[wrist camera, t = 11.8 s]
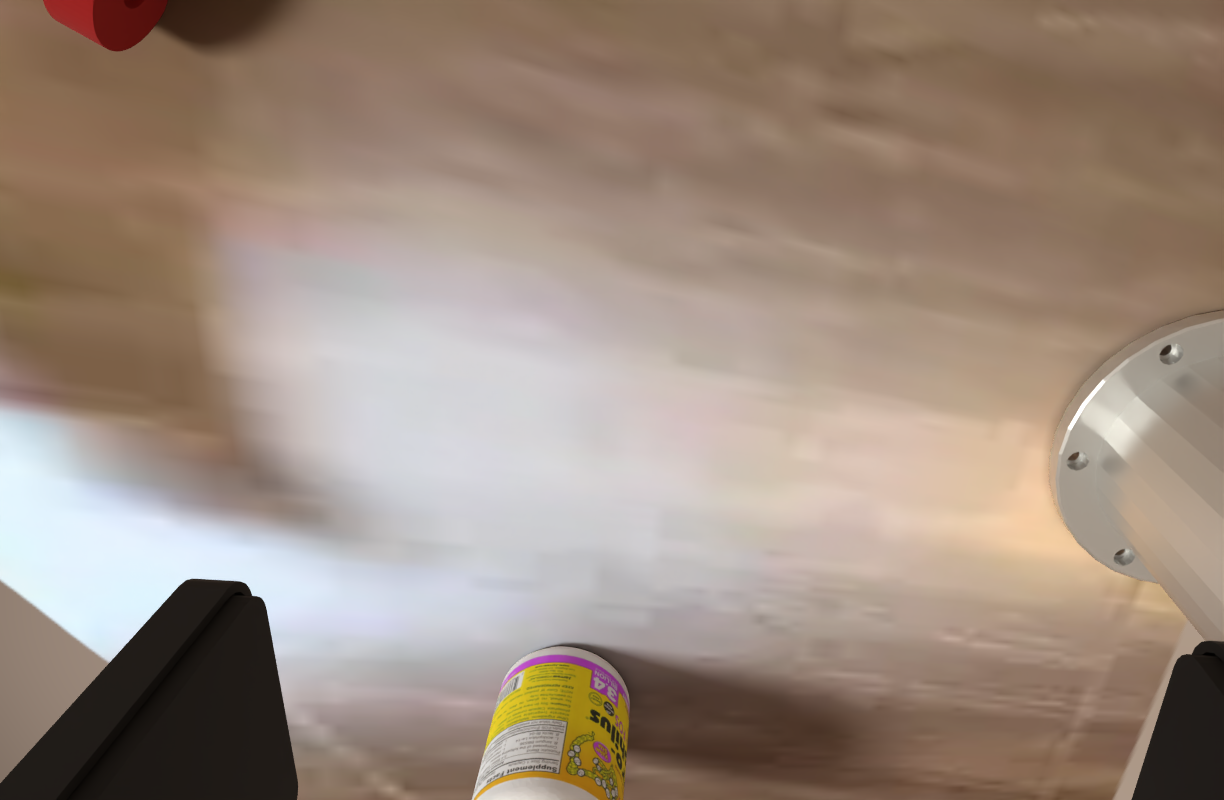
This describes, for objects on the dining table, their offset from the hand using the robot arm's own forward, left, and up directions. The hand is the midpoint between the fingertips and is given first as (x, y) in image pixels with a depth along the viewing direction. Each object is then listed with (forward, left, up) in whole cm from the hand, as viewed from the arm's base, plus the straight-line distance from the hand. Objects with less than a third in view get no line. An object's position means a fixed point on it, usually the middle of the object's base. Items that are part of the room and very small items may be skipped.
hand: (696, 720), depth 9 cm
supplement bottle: (+6, +26, -29) cm, 39 cm away
